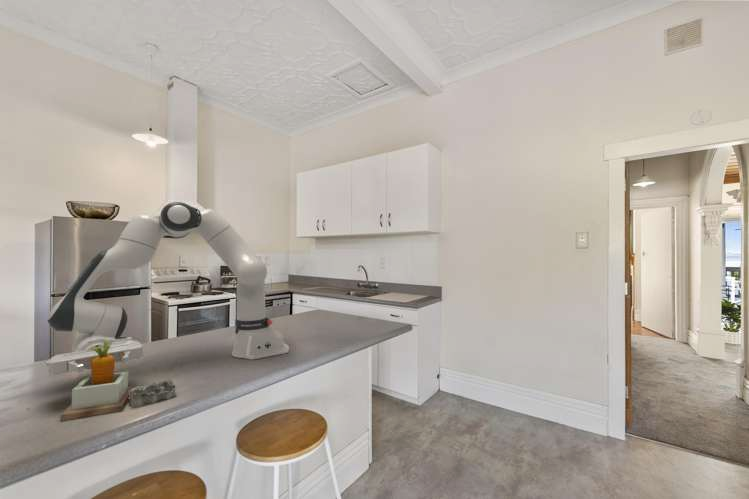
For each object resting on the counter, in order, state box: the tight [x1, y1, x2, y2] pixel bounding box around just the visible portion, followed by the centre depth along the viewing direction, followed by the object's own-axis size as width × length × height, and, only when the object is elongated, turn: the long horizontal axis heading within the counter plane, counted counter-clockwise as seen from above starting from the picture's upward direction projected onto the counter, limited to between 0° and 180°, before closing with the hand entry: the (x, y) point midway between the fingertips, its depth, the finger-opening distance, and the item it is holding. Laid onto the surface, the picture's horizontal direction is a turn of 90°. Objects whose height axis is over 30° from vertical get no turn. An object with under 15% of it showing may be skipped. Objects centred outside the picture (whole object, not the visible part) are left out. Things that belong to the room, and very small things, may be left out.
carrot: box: [90, 342, 116, 385], centre depth 86 cm, size 5×5×15 cm
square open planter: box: [71, 370, 129, 410], centre depth 86 cm, size 9×9×5 cm
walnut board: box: [60, 384, 136, 422], centre depth 86 cm, size 12×14×2 cm
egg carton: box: [128, 378, 177, 408], centre depth 89 cm, size 11×8×4 cm
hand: (103, 364), depth 85 cm, fingers open, 8 cm apart
